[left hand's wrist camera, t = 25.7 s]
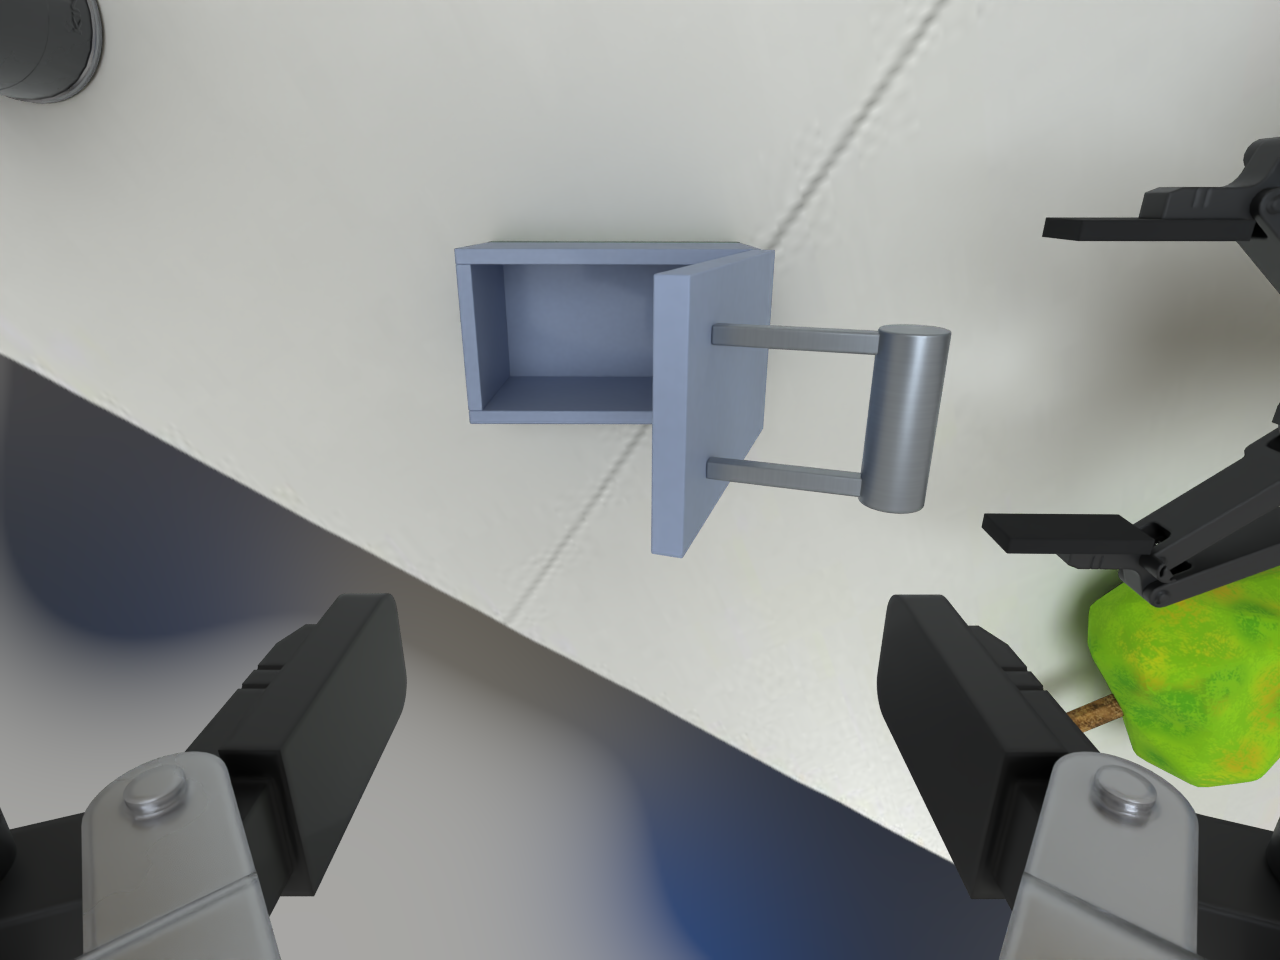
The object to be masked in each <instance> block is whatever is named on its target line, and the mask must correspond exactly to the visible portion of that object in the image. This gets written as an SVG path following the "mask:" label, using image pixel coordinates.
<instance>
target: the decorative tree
mask: <svg viewBox="0 0 1280 960" xmlns="http://www.w3.org/2000/svg"><path fill="white" fill-rule="evenodd" d="M1088 647H1089V650H1090V653H1091V656H1092V658H1093V660H1094V662H1095V663H1096V665H1097V667H1098V669H1099V670H1100V672H1101V674H1102V675H1103V677H1104V679H1105V681H1106V682H1107V684H1108V686H1109V688H1110V690H1111V692H1112V694H1110V695H1108V696H1106V697H1103V698H1101V699H1098V700H1096V701H1094V702H1091V703H1089V704H1086V705H1084V706H1082V707H1079V708H1077V709H1074V710H1072V711H1070V712H1067V714H1068V716H1069V717H1070V718H1071V719H1072V720H1073V722H1074V723H1075V724H1076V725H1077V726H1078V727H1079V729H1080V730H1081V731H1082V732H1085V731H1088V730H1090V729H1093V728H1095V727H1098V726H1100V725H1103V724H1105V723H1108V722H1110V721H1112V720H1115V719H1117V718H1120V717H1123V720H1124V723H1125V726H1126V729H1127V732H1128V735H1129V739H1130V742H1131V745H1132V748H1133V750H1134V752H1135V753H1136V755H1137V756H1139V757H1141V758H1142V759H1144V760H1145V761H1147V762H1149V763H1151V764H1153V765H1155V766H1156V767H1158V768H1160V769H1162V770H1164V771H1166V772H1168V773H1170V774H1172V775H1174V776H1176V777H1178V778H1180V779H1182V780H1184V781H1185V782H1187V783H1189V784H1192V785H1194V786H1197V787H1213V786H1221V785H1229V784H1237V783H1244V782H1251V781H1255V780H1257V779H1259V778H1261V777H1262V776H1263V775H1264V774H1265V773H1266V772H1267V771H1268V770H1269V769H1270V768H1271V767H1272V766H1273V765H1274V763H1275V762H1276V761H1277V760H1278V759H1279V758H1280V566H1277V567H1274V568H1271V569H1269V570H1266V571H1263V572H1260V573H1258V574H1255V575H1252V576H1249V577H1246V578H1244V579H1241V580H1238V581H1235V582H1233V583H1230V584H1227V585H1224V586H1221V587H1219V588H1216V589H1213V590H1210V591H1208V592H1205V593H1202V594H1199V595H1196V596H1194V597H1191V598H1188V599H1185V600H1183V601H1180V602H1177V603H1174V604H1171V605H1169V606H1166V607H1162V608H1157V607H1154V606H1152V605H1151V604H1149V603H1148V602H1147V601H1146V600H1145V599H1143V598H1142V597H1141V596H1140V595H1139V594H1137V593H1136V592H1135V591H1134V590H1133V589H1131V588H1130V587H1129V586H1128V585H1127V584H1125V583H1122V584H1121V585H1119V586H1117V587H1116V588H1115V589H1113V590H1112V591H1110V592H1109V593H1107V594H1106V595H1104V596H1103V597H1101V598H1100V599H1098V600H1097V601H1095V602H1094V603H1093V604H1092V605H1091V606H1090V610H1089V617H1088Z"/></svg>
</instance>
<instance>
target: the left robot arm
mask: <svg viewBox="0 0 1280 960" xmlns="http://www.w3.org/2000/svg"><path fill="white" fill-rule="evenodd" d="M101 48H102V25H101V19H100V14H99V10H98V6H97V3H96V0H0V95H4V96H7V97H10V98H13V99H16V100H21V101H27V102H32V103H53V102H58V101H62V100H65V99H67V98H70V97H71V96H73V95H75V94H76V93H78V92H79V91H80V90H81V89H82V88H83V87H84V86H85V85H86V84H87V83H88V82H89V80H90V79H91V78H92V76H93V74H94V72H95V70H96V68H97V65H98V62H99V59H100V54H101ZM406 686H407V677H406V669H405V661H404V654H403V647H402V640H401V633H400V626H399V619H398V612H397V606H396V602H395V600H394V597H393V596H392V595H391V594H387V593H381V594H379V593H377V594H376V593H374V594H373V593H365V594H364V593H362V594H361V593H359V594H357V593H344V594H341V595H340V596H339V597H338V598H337V599H336V600H335V601H334V603H333V604H332V605H331V607H330V608H329V609H328V610H327V612H326V613H325V614H324V615H323V617H322V618H321V619H320V621H319V622H318V623H317V624H306V625H304V626H303V627H301V628H299V629H298V630H296V631H295V632H293V633H292V634H290V635H289V636H287V637H286V638H284V639H282V640H281V641H279V642H278V643H277V644H276V645H275V646H274V647H273V648H272V649H271V651H270V652H269V653H268V654H267V655H266V656H265V658H264V659H263V660H262V661H261V662H260V663H259V665H258V669H257V670H254V671H253V672H252V673H251V674H250V675H249V677H248V678H247V679H246V680H245V681H244V682H243V684H242V689H238V690H237V691H236V692H235V693H234V694H233V695H232V697H231V698H230V699H229V700H228V701H227V702H226V704H225V705H224V706H223V707H222V708H221V710H220V711H219V712H218V713H217V714H216V715H215V717H214V718H213V719H212V720H211V721H210V723H209V724H208V725H207V726H206V727H205V728H204V730H203V731H202V732H201V733H200V734H199V736H198V737H197V738H196V739H195V740H194V741H193V743H192V744H191V745H190V746H189V747H188V749H187V750H186V751H185V752H182V753H175V754H171V755H167V756H163V757H160V758H157V759H154V760H151V761H149V762H146V763H144V764H142V765H140V766H138V767H136V768H134V769H132V770H130V771H128V772H126V773H125V774H123V775H122V776H120V777H118V778H117V779H116V780H114V781H113V782H111V783H110V784H109V785H108V786H106V787H105V788H104V789H103V790H102V791H101V792H100V793H99V794H98V795H97V796H96V797H95V798H94V799H93V800H92V802H91V803H90V805H89V806H88V808H87V809H86V811H85V812H84V813H80V814H76V815H71V816H67V817H63V818H58V819H54V820H49V821H45V822H41V823H37V824H32V825H28V826H23V827H19V828H15V829H10V830H9V827H8V825H7V823H6V820H5V818H4V816H3V813H2V811H1V809H0V960H281V957H280V954H279V950H278V947H277V943H276V940H275V936H274V932H273V929H272V925H271V922H270V918H269V916H270V915H271V913H272V911H273V909H274V907H275V905H276V903H277V901H278V899H279V897H280V896H314V895H315V893H316V891H317V889H318V887H319V885H320V883H321V881H322V879H323V876H324V874H325V872H326V870H327V868H328V866H329V864H330V862H331V860H332V858H333V855H334V853H335V851H336V849H337V847H338V845H339V843H340V841H341V839H342V837H343V835H344V833H345V830H346V828H347V826H348V824H349V822H350V820H351V818H352V816H353V814H354V812H355V809H356V807H357V805H358V803H359V801H360V799H361V797H362V795H363V793H364V791H365V789H366V786H367V784H368V782H369V780H370V778H371V776H372V774H373V772H374V770H375V768H376V766H377V763H378V761H379V759H380V757H381V755H382V753H383V751H384V749H385V747H386V745H387V742H388V740H389V738H390V736H391V734H392V732H393V730H394V728H395V726H396V724H397V722H398V719H399V717H400V715H401V713H402V710H403V706H404V702H405V697H406ZM877 694H878V701H879V705H880V709H881V712H882V715H883V717H884V720H885V722H886V724H887V726H888V728H889V730H890V732H891V734H892V736H893V738H894V740H895V742H896V744H897V746H898V749H899V751H900V753H901V755H902V757H903V759H904V761H905V763H906V765H907V767H908V769H909V771H910V773H911V775H912V777H913V780H914V782H915V784H916V786H917V788H918V790H919V792H920V794H921V796H922V798H923V800H924V802H925V804H926V806H927V808H928V811H929V813H930V815H931V817H932V819H933V821H934V823H935V825H936V827H937V829H938V831H939V833H940V835H941V837H942V840H943V842H944V844H945V846H946V848H947V850H948V852H949V854H950V856H951V858H952V860H953V862H954V864H955V866H956V868H957V870H958V872H959V875H960V877H961V879H962V881H963V883H964V885H965V887H966V889H967V891H968V893H969V895H970V897H971V899H1006V901H1007V903H1008V905H1009V906H1010V908H1011V910H1012V915H1011V918H1010V922H1009V925H1008V929H1007V932H1006V936H1005V939H1004V943H1003V947H1002V950H1001V954H1000V957H999V960H1280V818H1279V820H1278V822H1277V825H1276V827H1275V829H1274V831H1269V830H1265V829H1261V828H1256V827H1252V826H1247V825H1243V824H1239V823H1234V822H1230V821H1226V820H1221V819H1217V818H1213V817H1208V816H1204V815H1200V814H1197V813H1195V811H1194V809H1193V808H1192V806H1191V805H1190V803H1189V802H1188V800H1187V799H1186V798H1185V797H1184V796H1183V795H1182V794H1181V793H1180V792H1179V791H1178V790H1177V789H1176V788H1175V787H1174V786H1173V785H1171V784H1170V783H1169V782H1167V781H1166V780H1164V779H1163V778H1162V777H1160V776H1158V775H1157V774H1155V773H1154V772H1152V771H1150V770H1148V769H1146V768H1144V767H1142V766H1140V765H1138V764H1136V763H1134V762H1131V761H1129V760H1126V759H1123V758H1120V757H1117V756H1113V755H1109V754H1105V753H1100V752H1099V751H1098V750H1097V748H1096V747H1095V746H1094V745H1093V744H1092V743H1091V741H1090V740H1089V739H1088V738H1087V737H1086V736H1085V734H1084V733H1083V732H1082V731H1081V730H1080V729H1079V727H1078V726H1077V725H1076V724H1075V723H1074V722H1073V720H1072V719H1071V718H1070V717H1069V716H1068V714H1067V713H1066V712H1065V711H1064V710H1063V709H1062V707H1061V706H1060V705H1059V704H1058V703H1057V702H1056V700H1055V699H1054V698H1053V697H1052V696H1051V695H1050V693H1049V692H1048V691H1044V690H1043V685H1042V684H1041V683H1040V682H1039V681H1038V679H1037V678H1036V677H1035V676H1034V675H1033V674H1032V672H1031V671H1027V666H1026V665H1025V664H1024V663H1023V662H1022V661H1021V659H1020V658H1019V657H1018V656H1017V655H1016V654H1015V652H1014V651H1013V650H1012V649H1011V648H1010V647H1009V645H1008V644H1006V643H1004V642H1003V641H1001V640H1000V639H998V638H997V637H995V636H994V635H992V634H991V633H989V632H987V631H986V630H984V629H983V628H981V627H980V626H968V625H967V624H966V623H965V621H964V620H963V619H962V618H961V616H960V615H959V614H958V613H957V611H956V610H955V609H954V608H953V606H952V605H951V604H950V603H949V601H948V600H947V599H946V598H945V597H944V596H942V595H893V596H892V597H891V598H890V600H889V603H888V606H887V612H886V619H885V625H884V632H883V639H882V646H881V653H880V660H879V667H878V674H877Z"/></svg>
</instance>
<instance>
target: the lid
mask: <svg viewBox="0 0 1280 960" xmlns="http://www.w3.org/2000/svg"><path fill="white" fill-rule="evenodd" d="M774 258H775V250H750V251H746V252H742V253H738V254H734V255H730V256H726V257H722V258H718V259H714V260H710V261H706V262H702V263H697V264H693V265H689V266H685V267H681V268H677V269H673V270H669V271H665V272H661V273H657V274H654V293H653V410H652V527H651V552H652V553H653V554H658V555H665V556H671V557H678V558H683V556H684V555H685V553H686V552H687V550H688V548H689V547H690V545H691V543H692V542H693V540H694V539H695V537H696V535H697V534H698V532H699V531H700V529H701V527H702V526H703V524H704V523H705V521H706V519H707V518H708V516H709V514H710V513H711V511H712V510H713V508H714V506H715V505H716V503H717V502H718V500H719V498H720V497H721V495H722V494H723V492H724V490H725V489H726V487H727V486H728V484H729V482H738V483H747V484H755V485H764V486H772V487H780V488H789V489H797V490H805V491H814V492H822V493H830V494H839V495H847V496H855V497H858V499H859V501H860V502H861V503H862V504H863V505H865V506H867V507H869V508H872V509H875V510H878V511H882V512H887V513H898V514H905V513H913V512H917V511H919V510H921V509H922V508H923V506H924V502H925V496H926V490H927V483H928V477H929V471H930V465H931V458H932V452H933V446H934V439H935V433H936V427H937V421H938V414H939V408H940V402H941V396H942V389H943V383H944V377H945V371H946V364H947V358H948V352H949V345H950V339H951V331H950V330H947V329H944V328H940V327H934V326H925V325H909V324H897V325H886V326H882V327H880V328H879V329H878V331H871V330H851V329H831V328H811V327H791V326H771V325H770V317H771V302H772V287H773V273H774ZM768 348H769V349H785V350H802V351H818V352H835V353H852V354H868V355H875V362H874V370H873V378H872V386H871V394H870V402H869V411H868V419H867V427H866V435H865V443H864V451H863V460H862V468H861V473H857V472H848V471H839V470H829V469H820V468H811V467H802V466H793V465H784V464H775V463H766V462H756V461H747V460H744V458H745V457H746V455H747V453H748V452H749V450H750V448H751V447H752V445H753V444H754V442H755V440H756V439H757V437H758V436H759V434H760V432H761V431H762V429H763V421H764V406H765V391H766V377H767V362H768Z"/></svg>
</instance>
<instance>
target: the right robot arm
mask: <svg viewBox="0 0 1280 960" xmlns="http://www.w3.org/2000/svg"><path fill="white" fill-rule="evenodd" d="M1243 161H1244V166H1245V168H1244V169H1243V171H1242V173H1241V174H1240V175H1239V177H1238V178H1237V179H1236V180H1234V181H1233V182H1232V183H1230V184H1229V185H1226V186H1224V187H1159V188H1156V189H1154V190H1151V191H1148V192H1146V193H1145V195H1144V199H1143V202H1142V206H1141V210H1140V214H1139V218H1046V221H1045V225H1044V230H1043V235H1042V237H1049V238H1058V239H1066V240H1075V241H1237V243H1238V244H1239V245H1240V246H1241V247H1242V249H1243V250H1244V251H1245V252H1246V254H1247V255H1248V256H1249V257H1250V258H1251V260H1252V261H1253V262H1254V263H1255V264H1256V266H1257V267H1258V268H1259V269H1260V270H1261V272H1262V273H1263V274H1264V275H1265V277H1266V278H1267V279H1268V280H1269V281H1270V283H1271V284H1272V285H1273V286H1274V287H1275V289H1276V290H1277V291H1278V292H1279V294H1280V137H1274V138H1265V139H1259V140H1257V141H1255V142H1253V143H1252V144H1251V145H1250V146H1249V147H1248V148H1247V150H1246V152H1245V154H1244V159H1243ZM1272 422H1273V423H1276V424H1278V428H1277V429H1275V430H1273V431H1272V432H1270V433H1268V434H1267V435H1265V436H1264V437H1262V438H1260V439H1259V440H1257V441H1255V442H1254V443H1252V444H1250V445H1249V446H1248V447H1246V449H1245V450H1244V453H1245V456H1244V457H1243V458H1242V459H1240V460H1238V461H1237V462H1235V463H1234V464H1232V465H1230V466H1229V467H1227V468H1225V469H1224V470H1222V471H1220V472H1219V473H1217V474H1215V475H1214V476H1212V477H1210V478H1209V479H1207V480H1206V481H1204V482H1202V483H1201V484H1199V485H1197V486H1196V487H1194V488H1192V489H1191V490H1189V491H1187V492H1186V493H1184V494H1183V495H1181V496H1179V497H1178V498H1176V499H1174V500H1173V501H1171V502H1169V503H1168V504H1166V505H1164V506H1163V507H1161V508H1159V509H1158V510H1156V511H1155V512H1153V513H1151V514H1150V515H1148V516H1146V517H1145V518H1143V519H1141V520H1140V521H1138V522H1136V523H1135V524H1131V523H1130V522H1128V521H1127V520H1126V519H1124V518H1123V517H1121V516H1120V515H1112V514H984V518H983V523H982V528H983V529H984V530H985V531H986V532H987V533H988V534H989V535H990V536H991V537H992V538H993V539H994V540H995V541H996V542H997V544H998V545H999V546H1000V547H1001V548H1002V549H1003V550H1004V551H1005V552H1006V553H1020V554H1057V555H1058V556H1059V557H1060V558H1061V559H1062V560H1063V561H1064V562H1066V563H1067V564H1068V565H1069V566H1072V567H1075V568H1077V569H1119V572H1118V576H1119V578H1120V579H1121V580H1122V581H1123V582H1124V583H1125V584H1127V585H1128V586H1129V587H1130V588H1131V589H1133V590H1134V591H1135V592H1136V593H1137V594H1139V595H1140V596H1141V597H1142V598H1143V599H1145V600H1146V601H1147V602H1148V603H1149V604H1151V605H1152V606H1154V607H1157V608H1162V607H1166V606H1169V605H1171V604H1174V603H1177V602H1180V601H1183V600H1185V599H1188V598H1191V597H1194V596H1196V595H1199V594H1202V593H1205V592H1208V591H1210V590H1213V589H1216V588H1219V587H1221V586H1224V585H1227V584H1230V583H1233V582H1235V581H1238V580H1241V579H1244V578H1246V577H1249V576H1252V575H1255V574H1258V573H1260V572H1263V571H1266V570H1269V569H1271V568H1274V567H1277V566H1280V507H1279V506H1280V403H1279V405H1278V407H1277V409H1276V412H1275V415H1274V418H1273V420H1272ZM1156 544H1157V545H1156Z"/></svg>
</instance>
